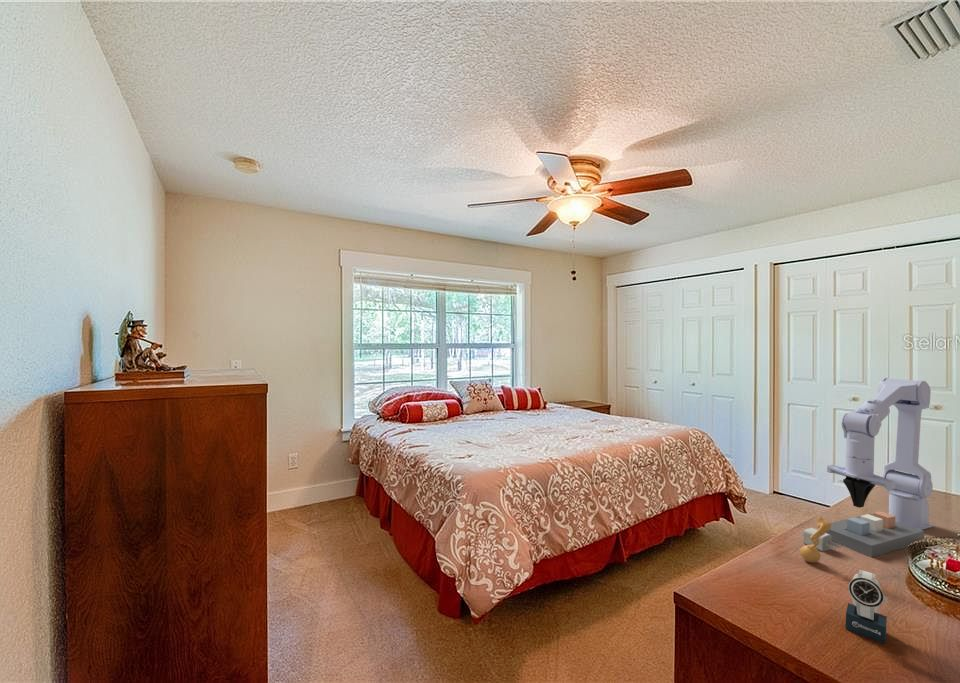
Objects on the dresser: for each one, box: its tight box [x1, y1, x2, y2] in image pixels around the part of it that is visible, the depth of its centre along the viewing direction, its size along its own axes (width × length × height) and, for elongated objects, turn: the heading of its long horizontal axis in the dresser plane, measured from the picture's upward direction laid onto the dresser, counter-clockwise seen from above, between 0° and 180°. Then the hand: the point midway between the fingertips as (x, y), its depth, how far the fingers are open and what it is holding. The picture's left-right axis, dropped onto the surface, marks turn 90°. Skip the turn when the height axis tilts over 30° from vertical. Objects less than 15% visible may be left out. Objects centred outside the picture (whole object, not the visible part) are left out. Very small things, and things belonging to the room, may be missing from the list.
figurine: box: [799, 516, 831, 564], centre depth 104 cm, size 8×6×12 cm
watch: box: [845, 569, 888, 645], centre depth 80 cm, size 6×8×11 cm
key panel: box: [826, 513, 925, 558], centre depth 117 cm, size 24×12×3 cm, turn 111°
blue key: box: [846, 516, 870, 536], centre depth 115 cm, size 3×3×4 cm
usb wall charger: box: [803, 527, 842, 552], centre depth 111 cm, size 4×7×4 cm, turn 23°
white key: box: [859, 513, 883, 533], centre depth 117 cm, size 3×3×4 cm
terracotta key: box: [872, 510, 896, 529], centre depth 119 cm, size 3×3×4 cm
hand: (858, 506), depth 114 cm, fingers closed
